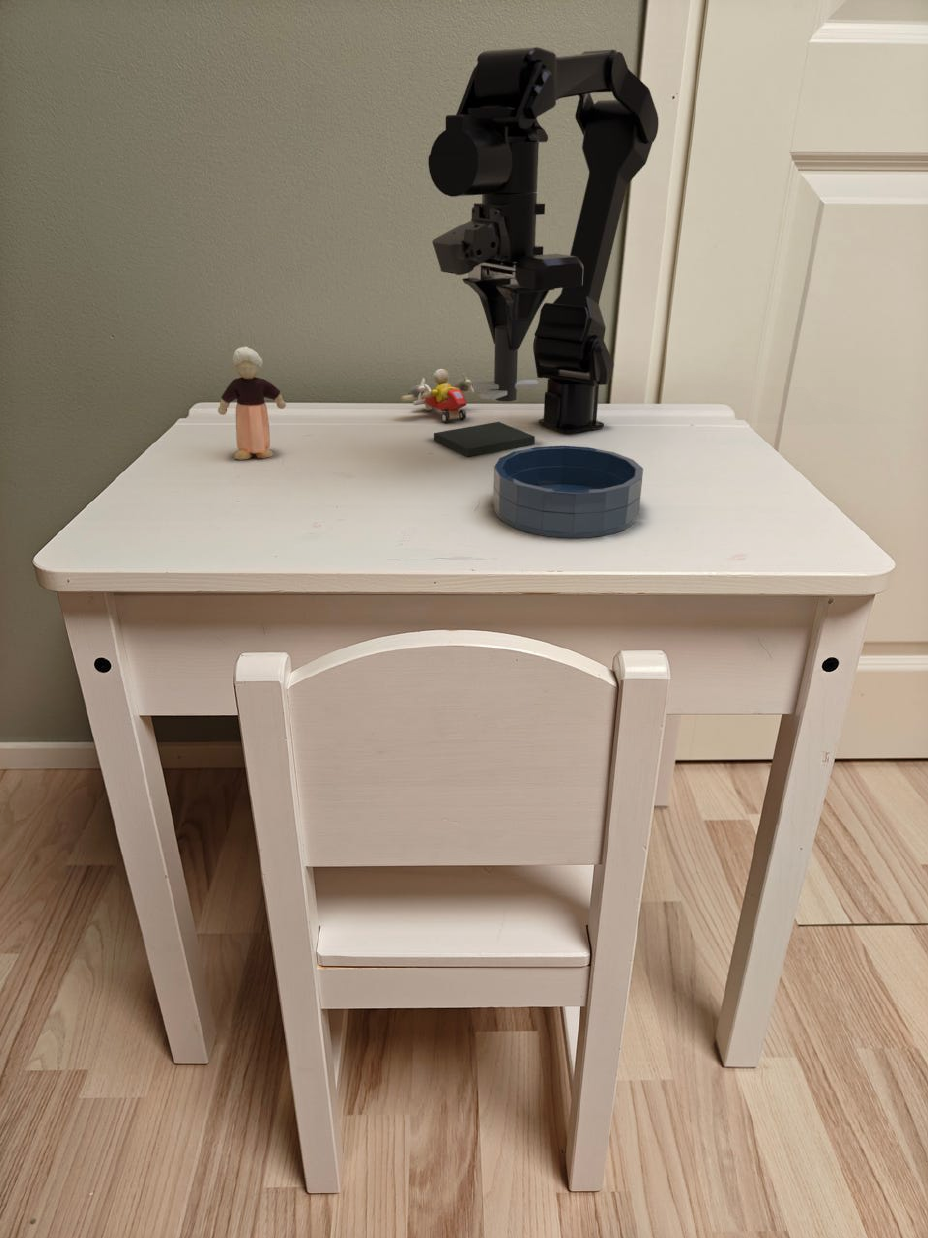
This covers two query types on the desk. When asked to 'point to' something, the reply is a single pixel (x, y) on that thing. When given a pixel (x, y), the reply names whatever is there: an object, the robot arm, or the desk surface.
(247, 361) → the grandmother figurine
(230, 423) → the desk surface
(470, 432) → the mat
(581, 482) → the bowl
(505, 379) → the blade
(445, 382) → the toy airplane
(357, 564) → the desk surface
